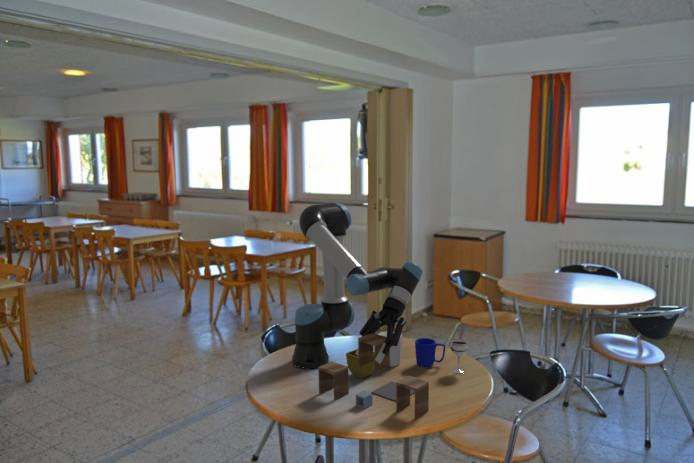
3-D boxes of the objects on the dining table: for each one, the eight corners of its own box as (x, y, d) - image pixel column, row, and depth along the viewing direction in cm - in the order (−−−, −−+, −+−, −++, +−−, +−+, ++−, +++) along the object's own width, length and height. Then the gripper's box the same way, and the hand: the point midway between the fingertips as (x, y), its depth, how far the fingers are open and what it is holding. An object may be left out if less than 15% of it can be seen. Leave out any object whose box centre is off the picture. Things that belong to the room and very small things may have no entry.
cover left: (318, 393, 192) (318, 367, 190) (332, 387, 197) (331, 361, 196) (335, 400, 186) (334, 372, 185) (348, 393, 192) (348, 366, 190)
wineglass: (471, 373, 208) (471, 343, 206) (455, 375, 206) (456, 345, 204) (461, 367, 214) (462, 338, 213) (446, 369, 212) (447, 340, 210)
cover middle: (358, 366, 184) (358, 338, 182) (372, 360, 189) (371, 332, 187) (376, 372, 178) (376, 343, 177) (389, 365, 183) (389, 337, 182)
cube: (355, 405, 182) (355, 394, 182) (363, 401, 185) (363, 390, 185) (364, 409, 180) (364, 398, 179) (372, 405, 183) (372, 393, 182)
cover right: (396, 411, 178) (396, 382, 177) (408, 403, 183) (408, 375, 182) (416, 418, 173) (416, 388, 171) (428, 410, 178) (428, 381, 176)
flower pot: (361, 369, 214) (361, 347, 213) (377, 375, 208) (377, 352, 207) (345, 375, 208) (345, 353, 207) (361, 381, 202) (361, 358, 200)
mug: (444, 370, 211) (445, 345, 210) (414, 368, 214) (414, 344, 212) (445, 362, 219) (445, 339, 218) (415, 360, 222) (415, 337, 220)
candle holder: (407, 364, 218) (407, 335, 217) (388, 369, 213) (388, 340, 211) (391, 356, 226) (391, 329, 225) (373, 362, 221) (373, 333, 219)
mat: (371, 392, 192) (371, 391, 192) (391, 382, 201) (391, 381, 201) (398, 402, 184) (398, 401, 184) (418, 391, 193) (418, 390, 193)
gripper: (425, 312, 185) (397, 371, 176) (378, 302, 199) (350, 356, 190) (416, 301, 180) (386, 361, 171) (369, 291, 195) (339, 346, 185)
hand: (367, 358), depth 181 cm, fingers closed on cover middle, 8 cm apart
